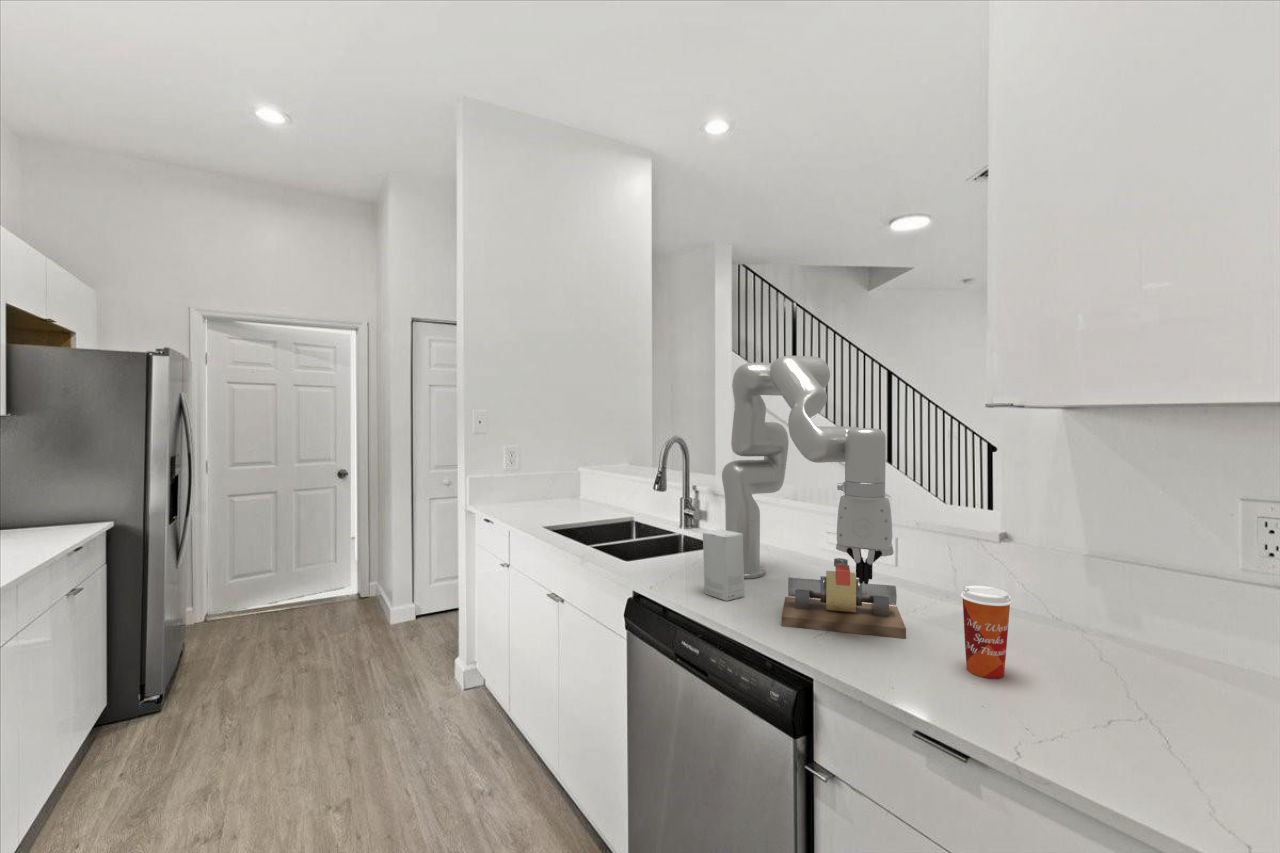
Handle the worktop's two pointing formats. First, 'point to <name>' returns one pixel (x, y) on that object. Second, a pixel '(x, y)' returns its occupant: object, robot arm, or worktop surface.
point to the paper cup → (986, 630)
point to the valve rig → (843, 607)
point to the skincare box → (723, 564)
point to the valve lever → (842, 572)
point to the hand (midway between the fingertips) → (864, 581)
